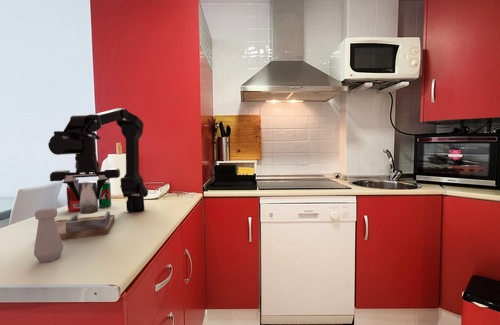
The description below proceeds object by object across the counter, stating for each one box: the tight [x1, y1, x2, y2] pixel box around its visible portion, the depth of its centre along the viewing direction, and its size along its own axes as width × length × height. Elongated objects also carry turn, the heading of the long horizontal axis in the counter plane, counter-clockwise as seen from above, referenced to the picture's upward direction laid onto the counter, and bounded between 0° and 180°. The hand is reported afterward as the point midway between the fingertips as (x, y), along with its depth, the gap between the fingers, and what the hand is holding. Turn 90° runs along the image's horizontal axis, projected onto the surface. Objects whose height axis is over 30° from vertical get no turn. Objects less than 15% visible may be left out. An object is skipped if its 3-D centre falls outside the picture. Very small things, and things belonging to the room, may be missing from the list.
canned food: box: [66, 183, 80, 213], centre depth 110 cm, size 8×8×11 cm
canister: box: [78, 180, 99, 215], centre depth 83 cm, size 5×5×10 cm
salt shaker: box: [33, 207, 64, 263], centre depth 63 cm, size 6×6×13 cm
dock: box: [55, 210, 116, 241], centre depth 84 cm, size 18×16×5 cm
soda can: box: [98, 179, 112, 208], centre depth 116 cm, size 5×5×12 cm
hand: (88, 200), depth 83 cm, fingers closed on canister, 5 cm apart
